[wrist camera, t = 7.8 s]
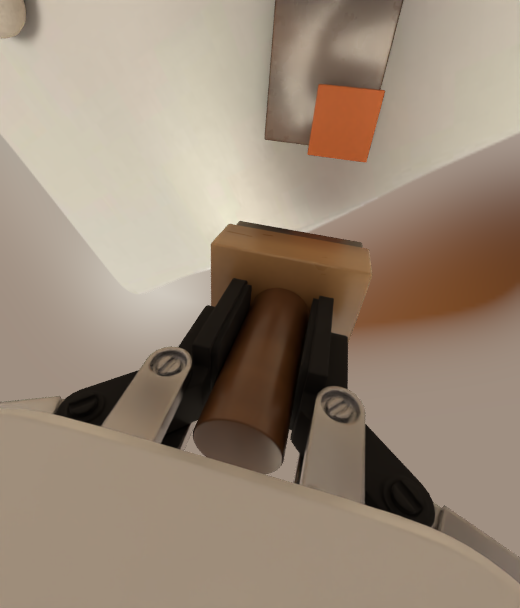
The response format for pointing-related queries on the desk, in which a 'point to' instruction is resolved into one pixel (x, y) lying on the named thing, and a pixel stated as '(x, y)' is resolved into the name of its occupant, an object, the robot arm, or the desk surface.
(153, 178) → the desk surface
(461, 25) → the desk surface
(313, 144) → the orange cube
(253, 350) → the brush
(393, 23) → the serving board
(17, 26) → the ice cream cone
